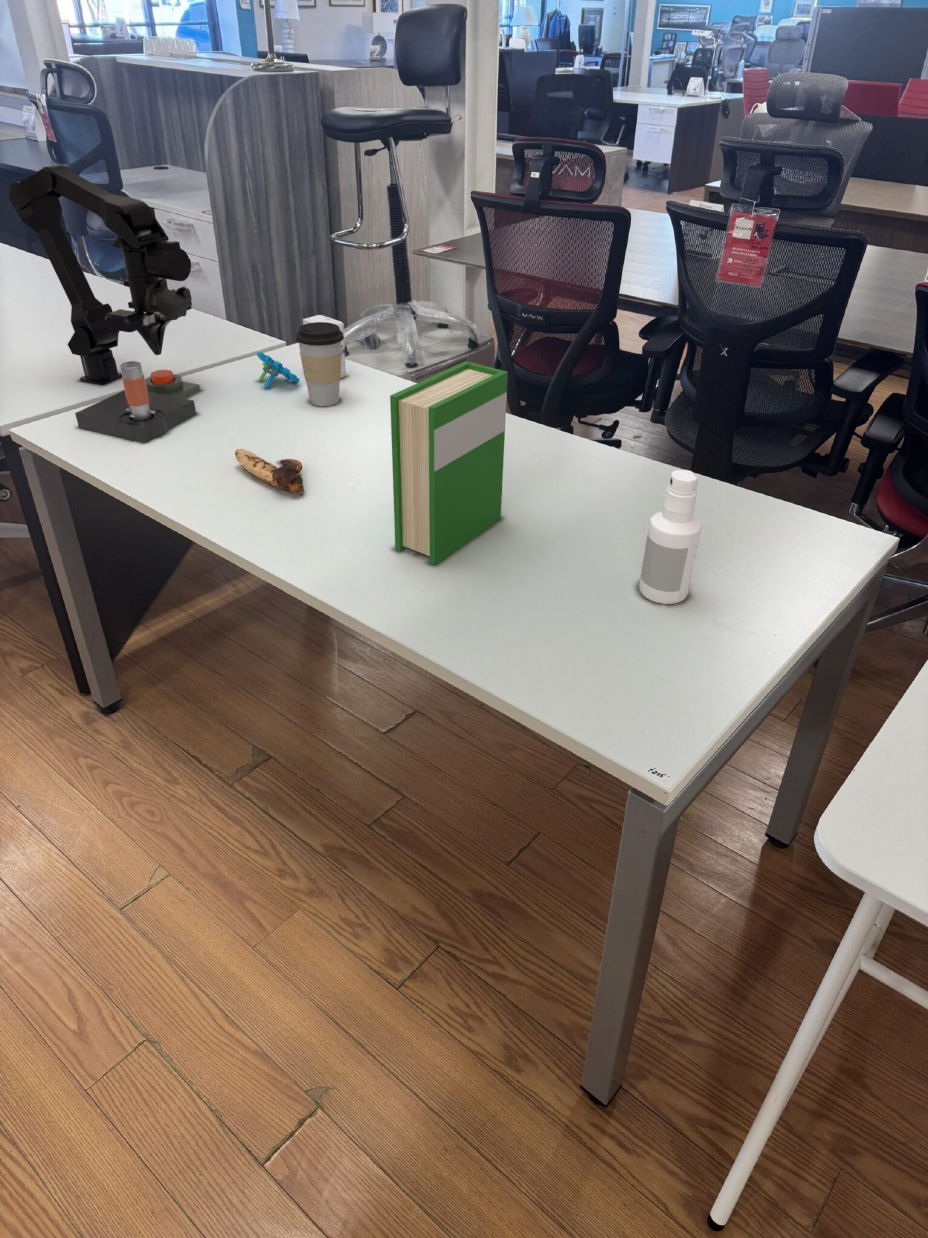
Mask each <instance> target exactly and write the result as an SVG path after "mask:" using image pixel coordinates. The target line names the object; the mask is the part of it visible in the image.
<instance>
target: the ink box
mask: <svg viewBox="0 0 928 1238" xmlns="http://www.w3.org/2000/svg"><path fill="white" fill-rule="evenodd" d="M314 322H327V323H333V324H336V325H338V326H339V329H340V331H342V333H343V336H344V337H345V323H343V321H340V320H338V319H335V318H332V317H329V316H326V315H323V314H317V315H314V316H309V317H306V318H302V325H304V324H308V323H314ZM345 344H346V343H345V338H344V339H343V340H342V341H341V376H340V379H343V378H345V377H346V376H347V374H346V373H347V371H346V369H347V368H346V348H345V347H346V345H345Z"/></svg>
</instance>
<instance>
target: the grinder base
mask: <svg viewBox="0 0 928 1238" xmlns="http://www.w3.org/2000/svg"><path fill="white" fill-rule="evenodd" d="M147 392H148V396H149V405H150V410H152V411H155V413H153V414H151V415H152V419H150V420H147V421H141V422H135V421H132V417H130V415H131V413H130V411H126V409H127V408H129V405H128V403H127V399H126V394H125V390H124V389H123V390H122V391H119V392H118V393H115V394H113V395H111V396H109V397H107V398H104V399H102V400H101V401H98V402H96V403H94V404H91V405H89V406H87V407H85V408H83V409H80V410H78V411H76V412H75V414H74V415H75V418H76V422H77V426H78V429H83V430H87V431H92V432H95V433H100V434H105V435H109V436H114V437H118V438H123V439H124V440H129V441H133V442H139V443H147V442H149V441H151V440H155V439H159V438H161V437H163V436H164V435H166V434H167V432H169V431H170V430H171V429H173V428H174V427H176V426H178V425H180V424H182V423H184V422H186V421H188V420H189V419H192V418H193V417H195V416H197V411H196V410H197V409H196V405H195V404H196V403H195V400H194V399H188V398H185V399H184V398H179V397H174V396H169V395H164V394H159V393H154V392H149V391H147Z"/></svg>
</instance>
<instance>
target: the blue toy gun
mask: <svg viewBox="0 0 928 1238" xmlns="http://www.w3.org/2000/svg"><path fill="white" fill-rule="evenodd" d="M256 357H257V358H258V359H259V360H260V361H262V364H261V365H262V366H263V367H262V373H261V375H260V376H259V378H258V381H259V382H262V381H263V380H264V378H265V376H266V375H267V374H268V375H269V377H268V379H267V380H266V381H265V382H264V384H263V386H264V387H265V388H266V389H269V388H270V386H271V384H272V383H273V382H274V379H276V378H278V376H279V375H282V376H284V378H286V379H287V380H291V382H293V383H296V384H298V383H299V382H300V378H298V376H297V375H296V374H295V373H291V369H288V368H287V367H284V366H283V363H281V362H279V361H278V360H274V359H273V357H271V356H270V355H268V354H265V353H264V352H262V351H257V353H256Z"/></svg>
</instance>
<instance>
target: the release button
mask: <svg viewBox="0 0 928 1238" xmlns="http://www.w3.org/2000/svg"><path fill="white" fill-rule="evenodd" d="M173 374H174V372H173V371H172V370H170V369H157V370H154V371H152V372H151V373H150V376H151V379H152V383H155V384H166V383H171V382H173V381H174V376H173Z"/></svg>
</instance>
